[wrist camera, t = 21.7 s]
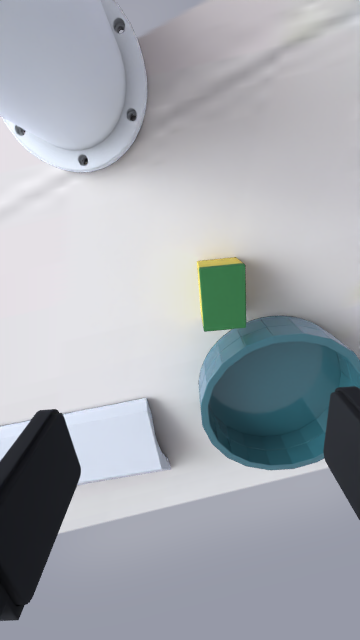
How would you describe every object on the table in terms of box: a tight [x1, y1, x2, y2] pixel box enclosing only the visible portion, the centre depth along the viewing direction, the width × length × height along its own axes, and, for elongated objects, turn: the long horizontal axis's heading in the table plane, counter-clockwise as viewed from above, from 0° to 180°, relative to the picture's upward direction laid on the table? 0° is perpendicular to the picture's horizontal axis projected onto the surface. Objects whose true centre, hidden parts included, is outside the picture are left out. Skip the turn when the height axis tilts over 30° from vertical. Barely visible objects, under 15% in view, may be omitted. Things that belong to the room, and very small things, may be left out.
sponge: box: [197, 257, 246, 331], centre depth 26 cm, size 6×4×4 cm, turn 6°
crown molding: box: [0, 398, 171, 485], centre depth 35 cm, size 29×12×4 cm, turn 104°
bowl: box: [199, 316, 360, 470], centre depth 30 cm, size 18×18×5 cm
